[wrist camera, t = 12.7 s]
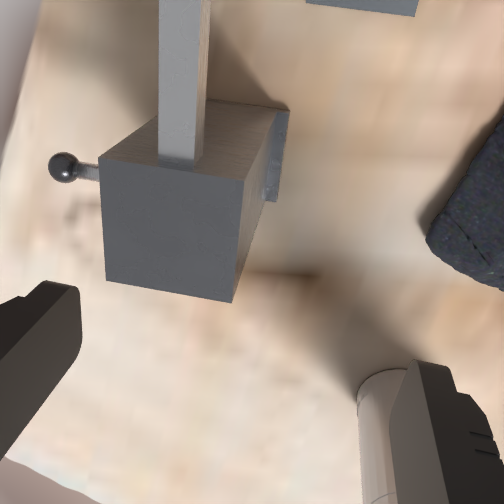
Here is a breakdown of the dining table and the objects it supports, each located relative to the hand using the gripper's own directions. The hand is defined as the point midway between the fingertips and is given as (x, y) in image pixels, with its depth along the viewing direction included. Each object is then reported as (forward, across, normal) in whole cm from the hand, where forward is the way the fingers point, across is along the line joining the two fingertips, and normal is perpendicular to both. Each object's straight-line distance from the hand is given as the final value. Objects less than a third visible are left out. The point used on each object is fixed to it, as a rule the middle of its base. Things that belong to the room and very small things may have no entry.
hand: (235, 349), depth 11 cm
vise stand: (+31, +10, -1) cm, 32 cm away
